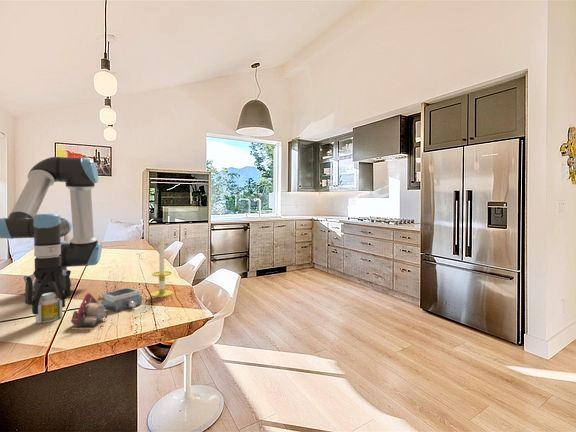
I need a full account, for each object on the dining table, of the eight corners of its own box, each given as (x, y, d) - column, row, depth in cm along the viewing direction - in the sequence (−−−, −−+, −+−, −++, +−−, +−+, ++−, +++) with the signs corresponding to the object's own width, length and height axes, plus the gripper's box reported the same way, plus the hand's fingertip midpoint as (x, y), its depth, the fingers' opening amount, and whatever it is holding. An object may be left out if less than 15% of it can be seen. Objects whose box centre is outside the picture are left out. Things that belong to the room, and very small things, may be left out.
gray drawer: (99, 306, 124) (99, 293, 124) (125, 298, 133) (125, 286, 133) (120, 313, 116) (119, 299, 116) (146, 305, 126) (146, 292, 126)
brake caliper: (79, 310, 112) (99, 285, 112) (103, 328, 112) (122, 303, 112) (57, 323, 101) (78, 295, 100) (83, 342, 101) (104, 315, 101)
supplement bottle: (42, 318, 110) (41, 292, 110) (60, 316, 113) (59, 291, 112) (37, 323, 105) (37, 297, 105) (56, 321, 108) (55, 295, 107)
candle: (146, 293, 141) (146, 237, 140) (167, 289, 149) (167, 235, 147) (156, 298, 134) (155, 239, 133) (177, 294, 142) (177, 237, 141)
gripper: (18, 261, 98) (20, 330, 99) (81, 253, 114) (82, 313, 115) (10, 259, 102) (12, 326, 103) (72, 252, 118) (73, 309, 119)
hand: (49, 319), depth 109 cm, fingers open, 6 cm apart
